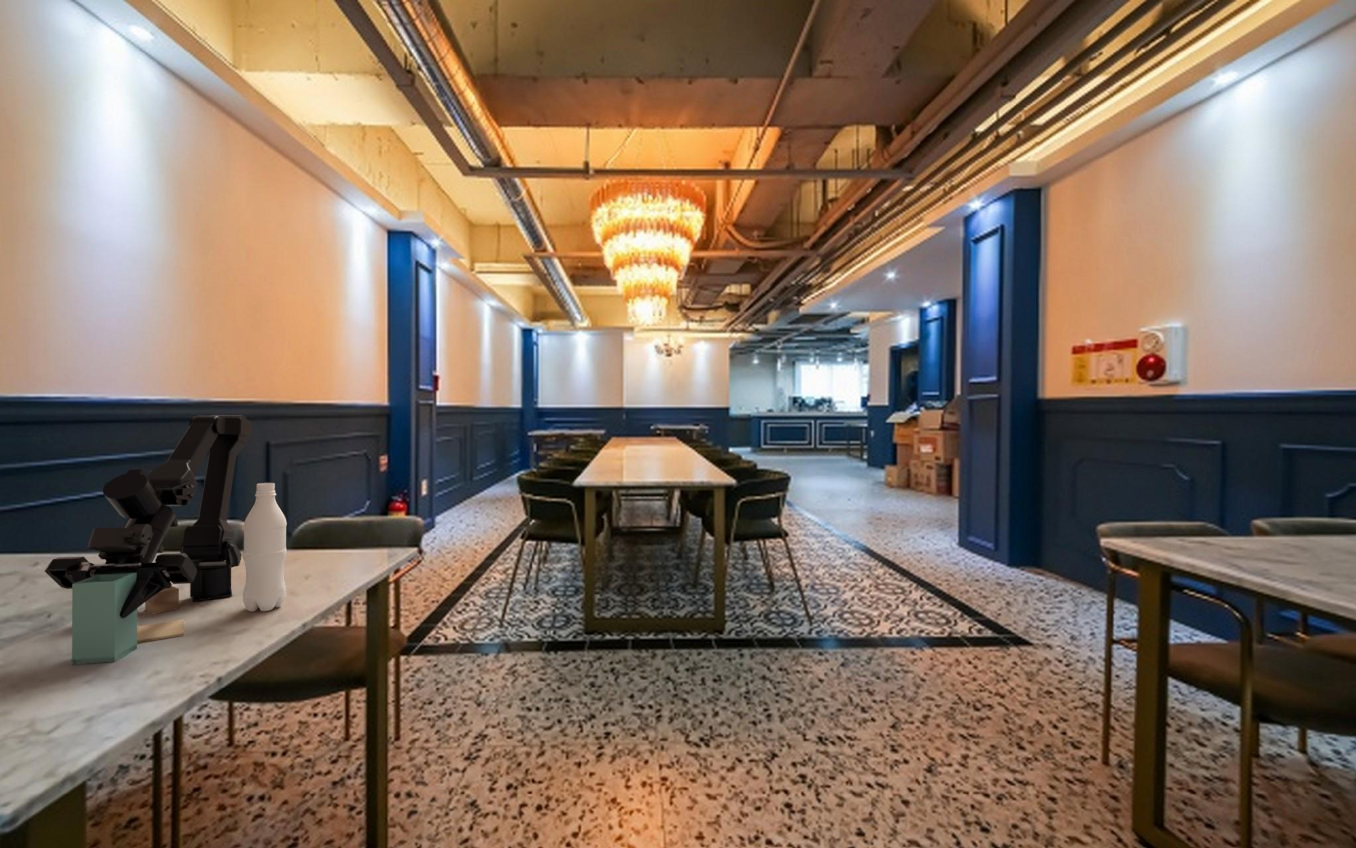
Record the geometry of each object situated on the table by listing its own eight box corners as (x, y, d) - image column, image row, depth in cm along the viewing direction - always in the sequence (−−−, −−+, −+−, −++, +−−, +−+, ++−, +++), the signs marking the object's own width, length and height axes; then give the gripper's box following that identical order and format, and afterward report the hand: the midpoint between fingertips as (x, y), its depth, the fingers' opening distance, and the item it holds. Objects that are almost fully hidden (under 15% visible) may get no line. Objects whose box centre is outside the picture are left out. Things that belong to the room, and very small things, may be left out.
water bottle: (264, 615, 116) (265, 486, 116) (233, 612, 118) (234, 485, 117) (294, 604, 123) (295, 482, 123) (265, 601, 125) (266, 481, 124)
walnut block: (170, 605, 122) (170, 585, 122) (178, 608, 120) (178, 588, 119) (145, 610, 118) (145, 590, 118) (153, 614, 116) (153, 593, 116)
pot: (97, 651, 98) (97, 574, 98) (137, 648, 99) (137, 573, 99) (71, 664, 92) (72, 583, 92) (114, 661, 94) (115, 582, 93)
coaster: (184, 621, 112) (184, 619, 112) (183, 635, 105) (183, 633, 105) (118, 631, 106) (118, 629, 106) (113, 647, 99) (113, 644, 99)
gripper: (53, 508, 97) (-6, 596, 86) (188, 505, 101) (147, 589, 91) (88, 546, 105) (37, 631, 94) (212, 542, 109) (177, 623, 99)
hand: (99, 618), depth 94 cm, fingers closed on pot, 5 cm apart
